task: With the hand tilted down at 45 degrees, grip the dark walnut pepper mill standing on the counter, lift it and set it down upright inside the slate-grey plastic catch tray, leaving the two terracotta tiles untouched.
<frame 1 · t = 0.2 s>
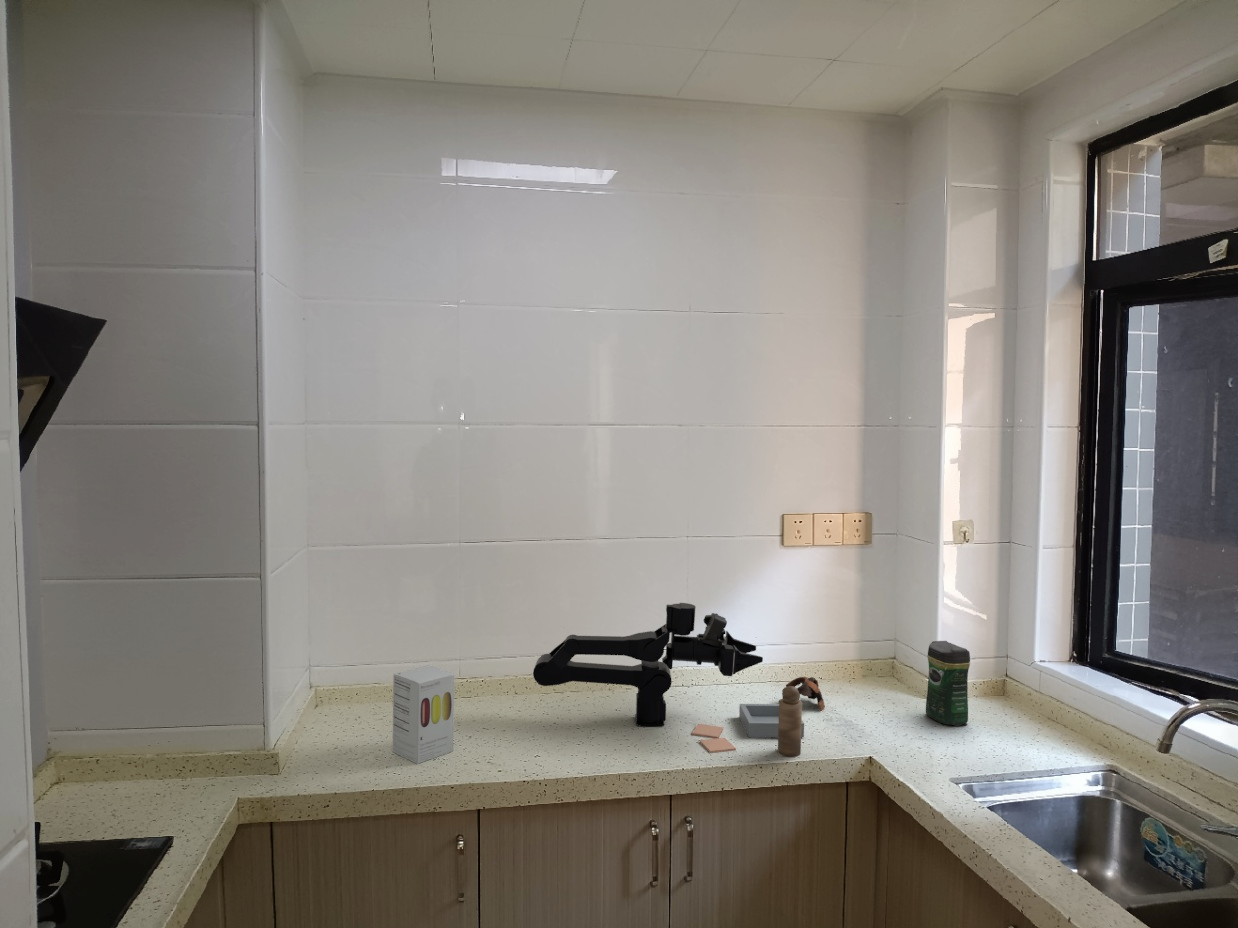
hand: (759, 653, 186), 17 cm above the worktop, tool horizontal, fingers open, 9 cm apart
coffee jar: (946, 720, 192), on the worktop
catch tray: (770, 727, 185), on the worktop
tile b: (707, 734, 182), on the worktop
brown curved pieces: (805, 706, 200), on the worktop
pepper mill: (789, 752, 171), on the worktop
supplement box: (423, 752, 168), on the worktop
tile a: (717, 748, 174), on the worktop
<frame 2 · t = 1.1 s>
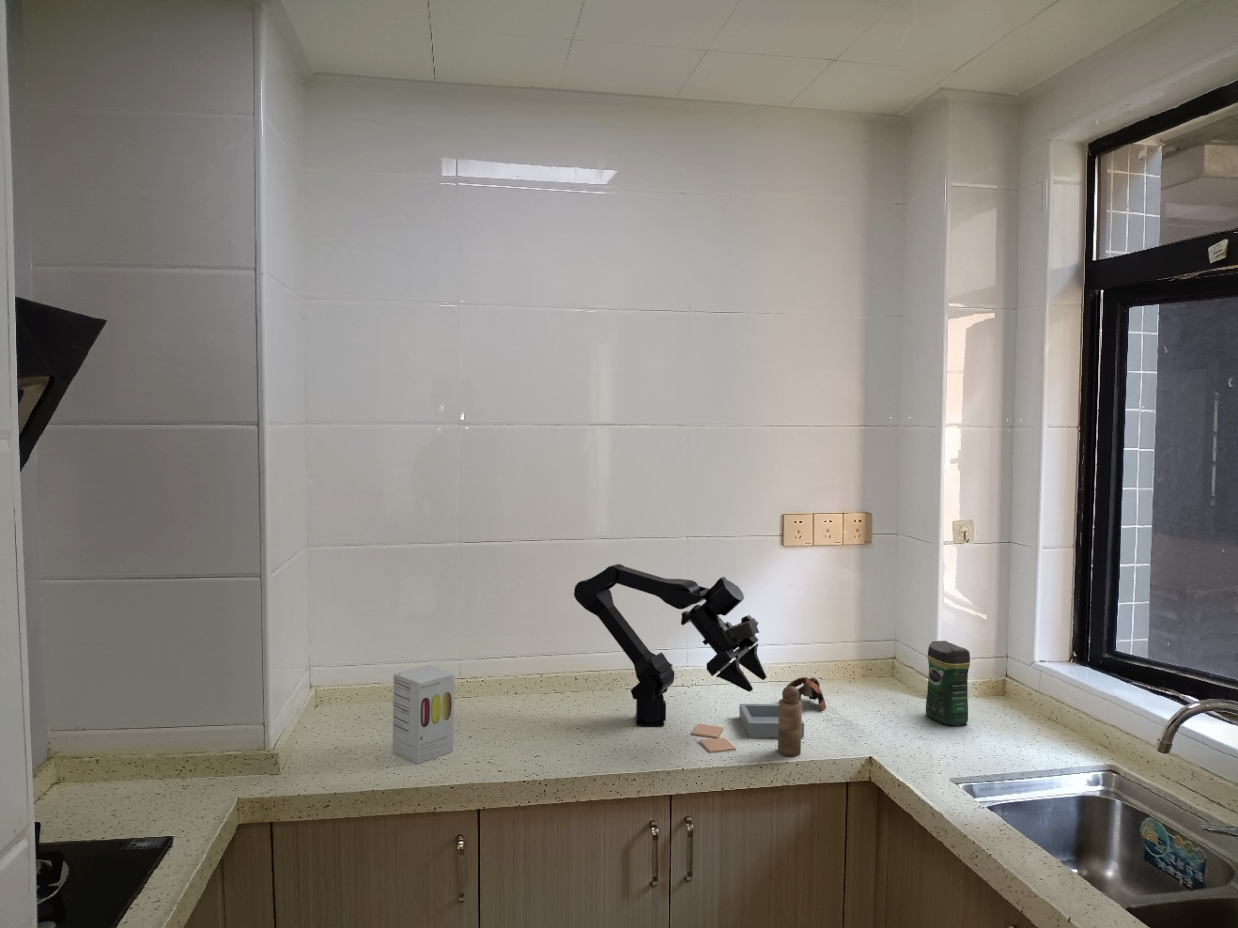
hand: (758, 684, 174), 13 cm above the worktop, tool tilted 45°, fingers open, 9 cm apart
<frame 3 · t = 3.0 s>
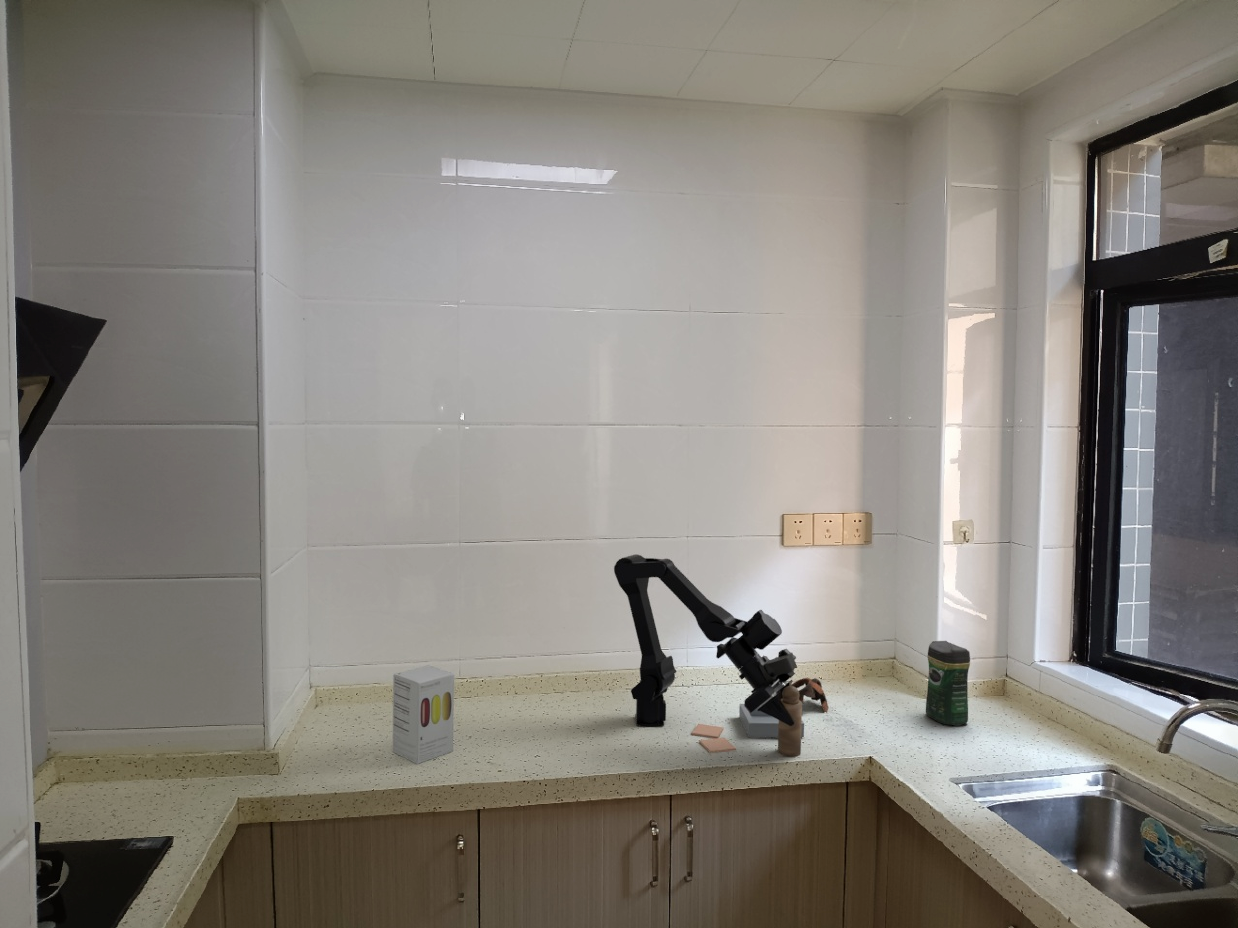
hand: (796, 720, 170), 7 cm above the worktop, tool tilted 45°, fingers closed on pepper mill, 5 cm apart
pepper mill: (789, 752, 171), on the worktop, touching gripper
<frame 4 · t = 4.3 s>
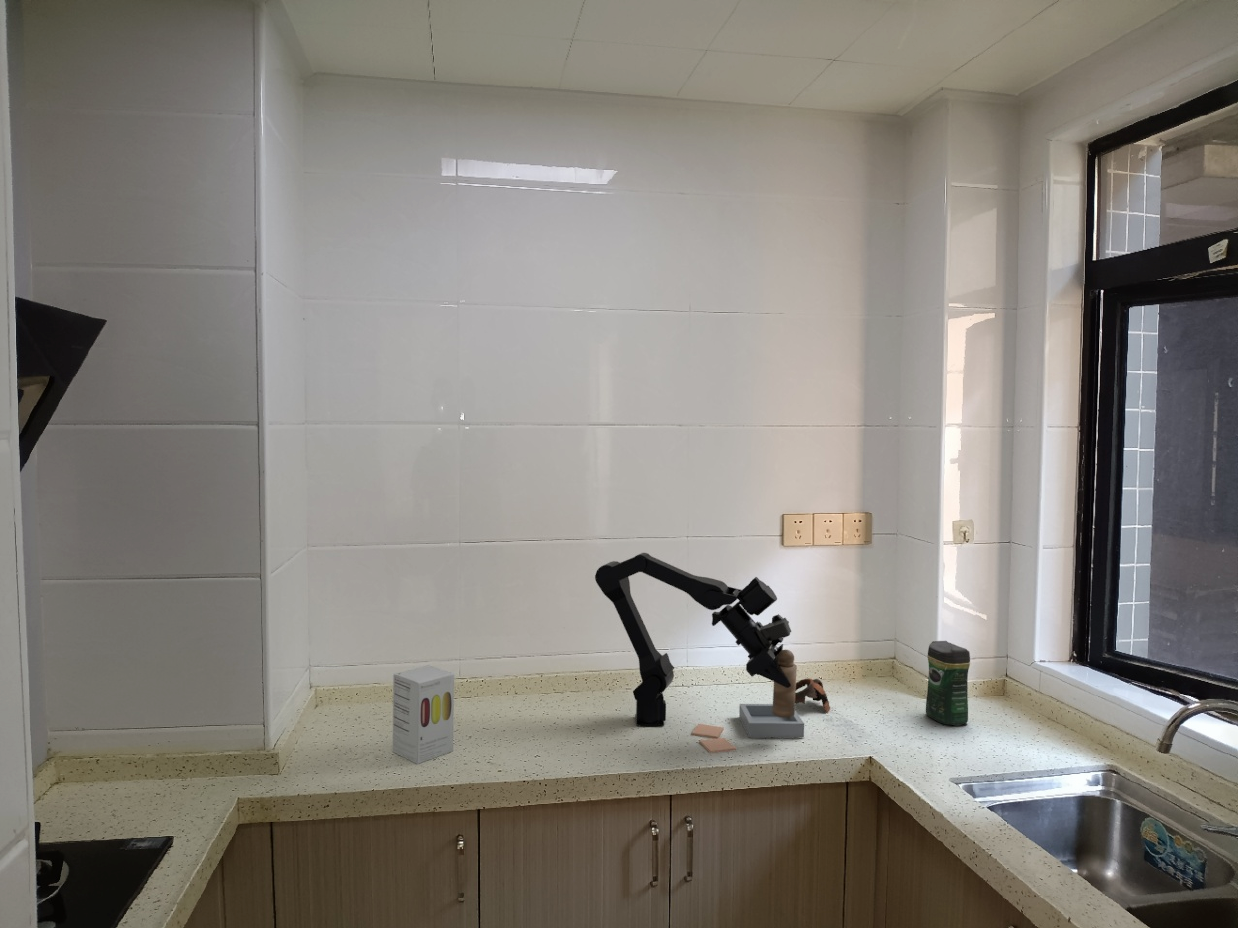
hand: (791, 683, 176), 13 cm above the worktop, tool tilted 45°, fingers closed on pepper mill, 5 cm apart
pepper mill: (783, 713, 177), point 6 cm above the worktop, touching gripper
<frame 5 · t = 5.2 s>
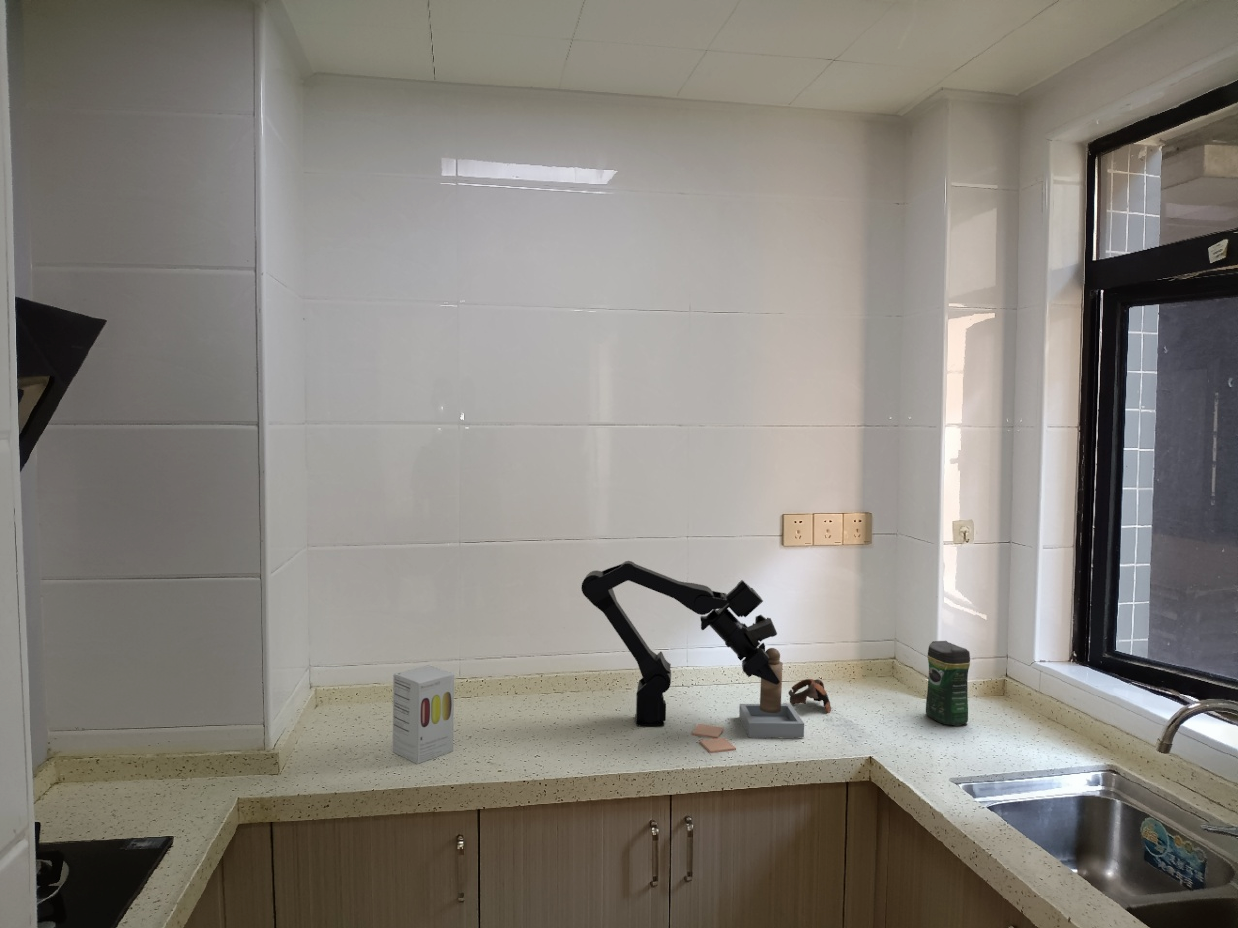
hand: (777, 679, 184), 11 cm above the worktop, tool tilted 45°, fingers closed on pepper mill, 5 cm apart
pepper mill: (770, 709, 185), point 4 cm above the worktop, touching gripper
when the fingers open (9 cm above the worktop, at t = 5.9 s): pepper mill drops 1 cm, resting on catch tray.
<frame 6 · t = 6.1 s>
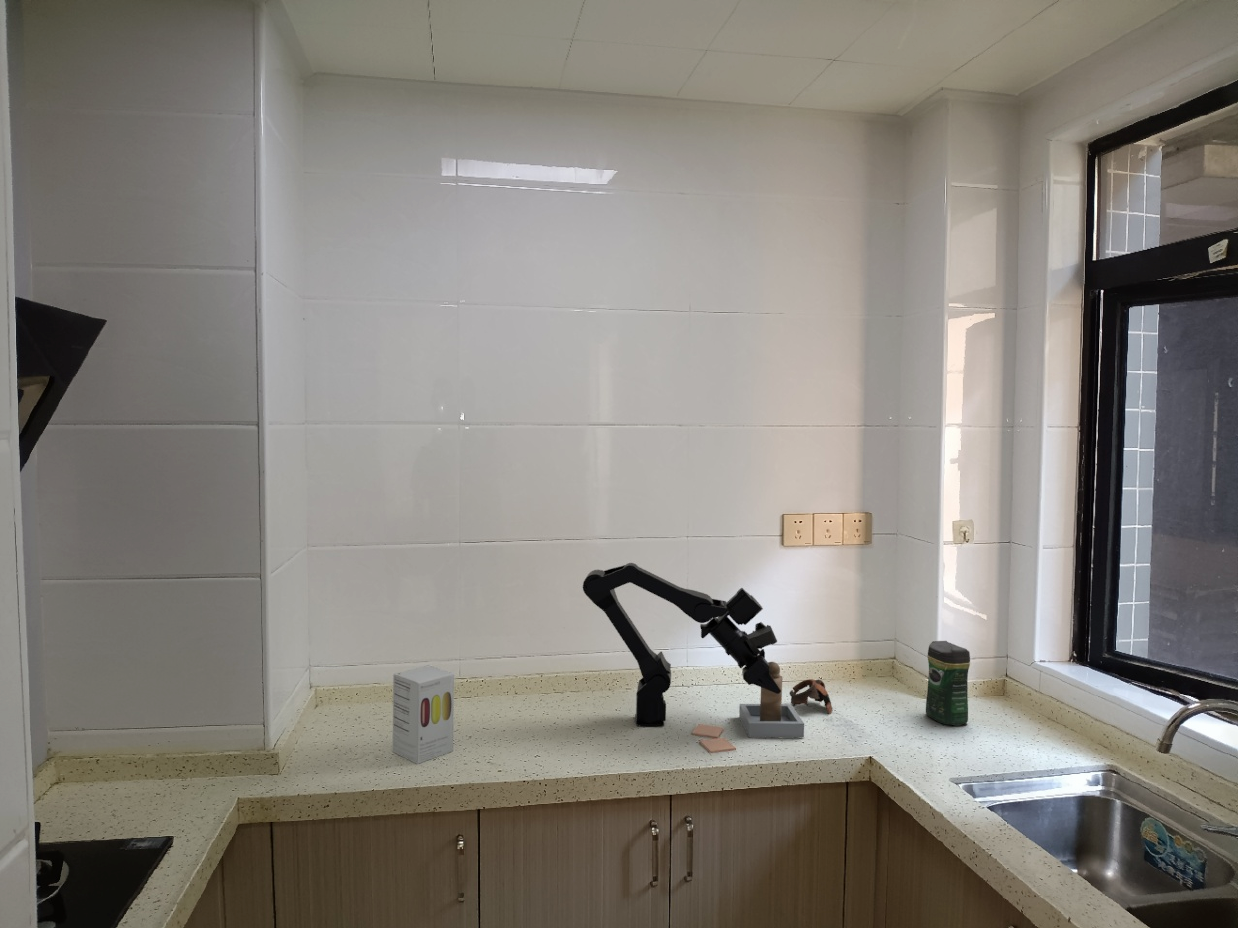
hand: (777, 686, 184), 10 cm above the worktop, tool tilted 45°, fingers open, 7 cm apart
pepper mill: (770, 723, 185), point 1 cm above the worktop, touching catch tray
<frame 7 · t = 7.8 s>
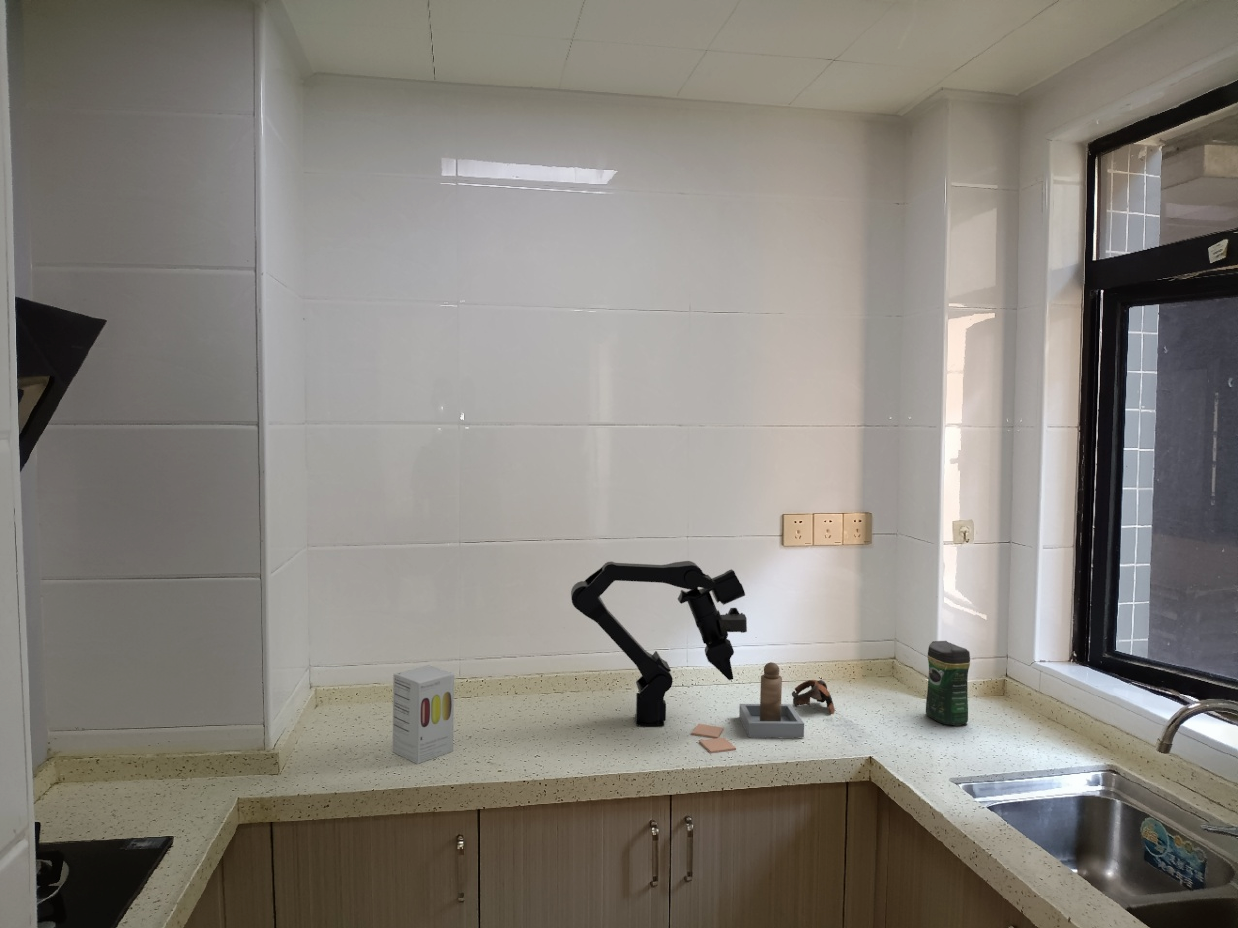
hand: (729, 672, 188), 12 cm above the worktop, tool tilted 25°, fingers open, 9 cm apart
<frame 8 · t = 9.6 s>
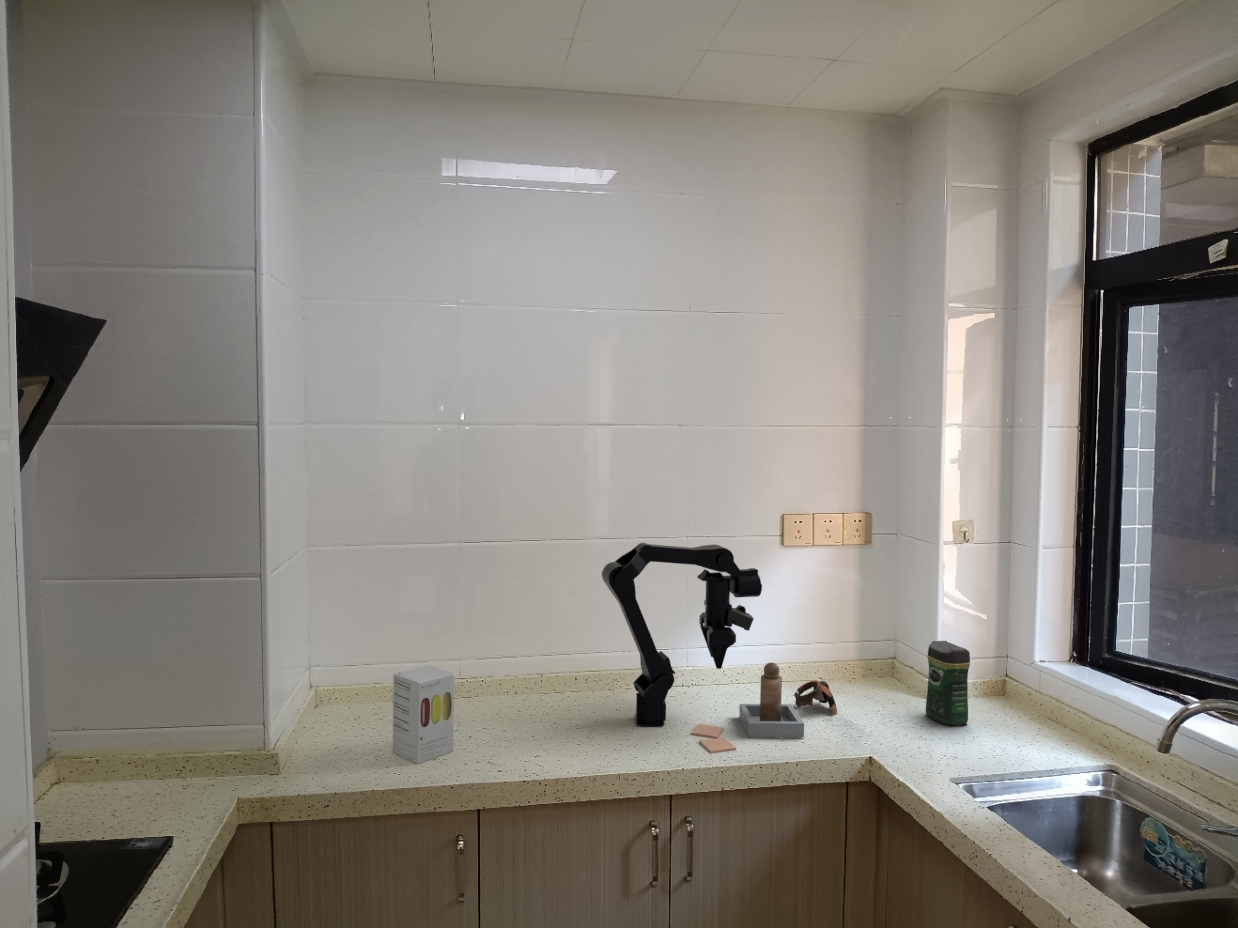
hand: (716, 662, 191), 13 cm above the worktop, tool pointing down, fingers open, 9 cm apart
at the end: pepper mill inside the target area on the catch tray (0.1 cm from its centre), point 0.8 cm above the catch tray's base; pepper mill tilted 0°; the gripper is holding nothing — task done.
